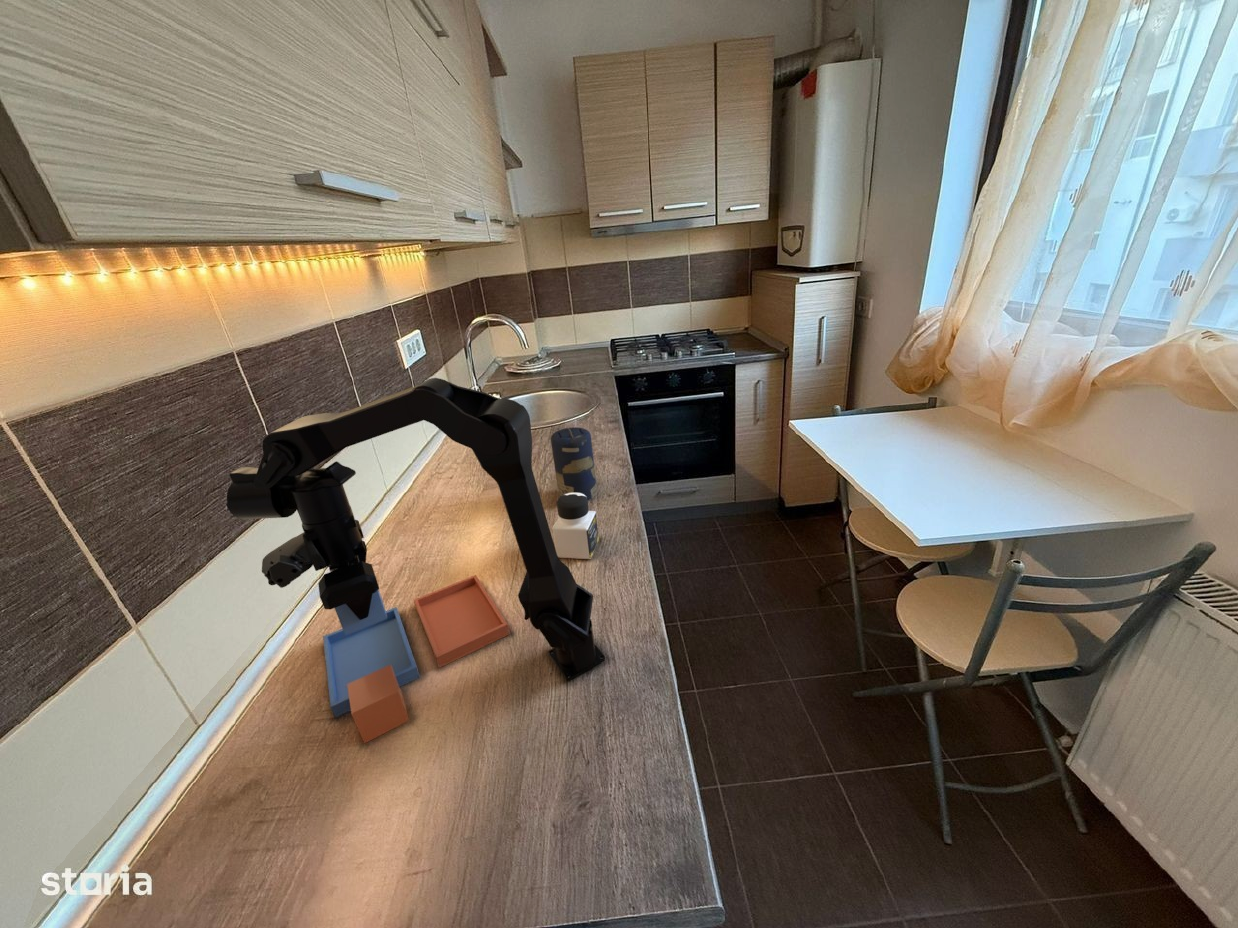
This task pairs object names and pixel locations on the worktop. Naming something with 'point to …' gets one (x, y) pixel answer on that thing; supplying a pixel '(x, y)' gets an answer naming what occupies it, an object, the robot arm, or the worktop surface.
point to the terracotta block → (377, 703)
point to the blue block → (353, 624)
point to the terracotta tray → (460, 619)
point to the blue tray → (366, 657)
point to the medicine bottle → (575, 527)
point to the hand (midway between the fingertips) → (361, 606)
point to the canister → (574, 461)
